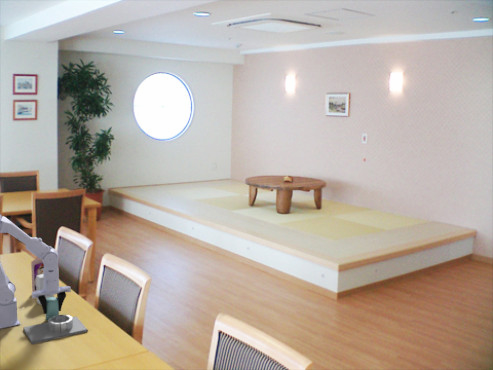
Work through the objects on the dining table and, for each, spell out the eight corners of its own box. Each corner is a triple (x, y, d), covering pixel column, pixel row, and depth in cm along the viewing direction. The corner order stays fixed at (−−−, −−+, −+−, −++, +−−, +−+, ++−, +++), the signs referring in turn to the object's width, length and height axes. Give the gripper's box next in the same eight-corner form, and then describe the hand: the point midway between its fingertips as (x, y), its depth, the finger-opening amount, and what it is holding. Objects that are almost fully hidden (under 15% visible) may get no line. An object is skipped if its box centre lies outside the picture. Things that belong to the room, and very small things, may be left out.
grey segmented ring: (52, 333, 195) (51, 325, 194) (46, 325, 202) (45, 317, 201) (75, 328, 200) (75, 320, 199) (68, 320, 207) (68, 313, 206)
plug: (47, 321, 207) (46, 302, 206) (44, 317, 211) (43, 298, 210) (60, 319, 210) (60, 300, 209) (57, 314, 214) (56, 296, 213)
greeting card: (33, 294, 235) (32, 262, 233) (24, 290, 240) (23, 258, 237) (56, 287, 244) (55, 256, 242) (47, 284, 249) (46, 253, 246)
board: (32, 344, 188) (32, 341, 188) (23, 329, 200) (23, 327, 200) (87, 331, 200) (87, 329, 200) (76, 318, 211) (76, 316, 211)
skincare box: (40, 305, 223) (39, 278, 222) (36, 302, 227) (35, 275, 225) (54, 301, 228) (53, 275, 226) (50, 298, 231) (49, 272, 229)
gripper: (34, 285, 201) (35, 319, 203) (72, 279, 209) (73, 311, 211) (30, 280, 206) (31, 312, 209) (67, 274, 215) (68, 305, 217)
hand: (52, 311), depth 210 cm, fingers closed on plug, 5 cm apart
